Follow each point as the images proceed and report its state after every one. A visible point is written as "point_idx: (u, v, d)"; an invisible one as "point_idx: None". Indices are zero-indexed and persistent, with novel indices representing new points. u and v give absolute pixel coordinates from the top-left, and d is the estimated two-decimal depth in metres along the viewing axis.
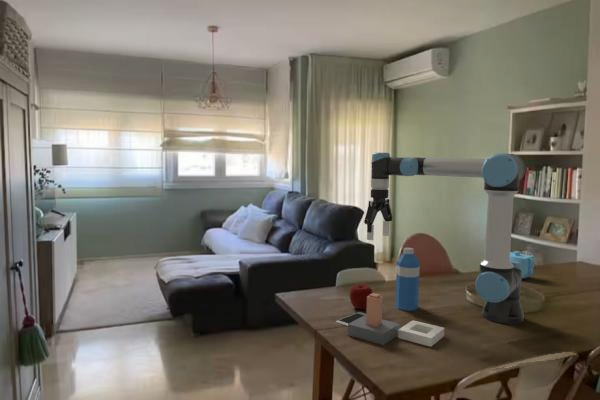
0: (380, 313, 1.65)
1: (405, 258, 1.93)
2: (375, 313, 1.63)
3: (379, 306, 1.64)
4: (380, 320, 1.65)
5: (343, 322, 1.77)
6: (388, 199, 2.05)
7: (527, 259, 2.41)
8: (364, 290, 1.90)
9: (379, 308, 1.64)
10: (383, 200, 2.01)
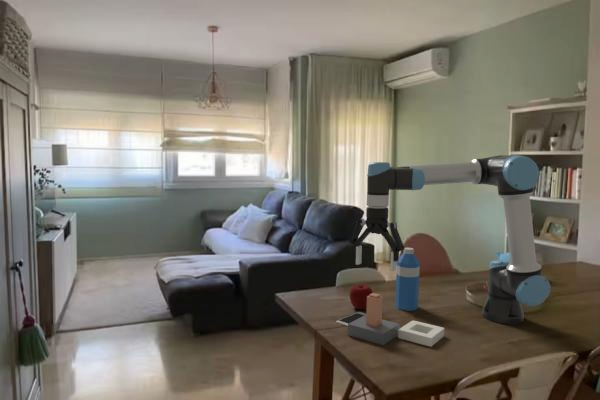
0: (380, 313, 1.65)
1: (405, 258, 1.93)
2: (375, 313, 1.63)
3: (379, 306, 1.64)
4: (380, 320, 1.65)
5: (343, 322, 1.77)
6: (391, 223, 1.58)
7: None
8: (364, 290, 1.90)
9: (378, 308, 1.64)
10: (379, 222, 1.61)
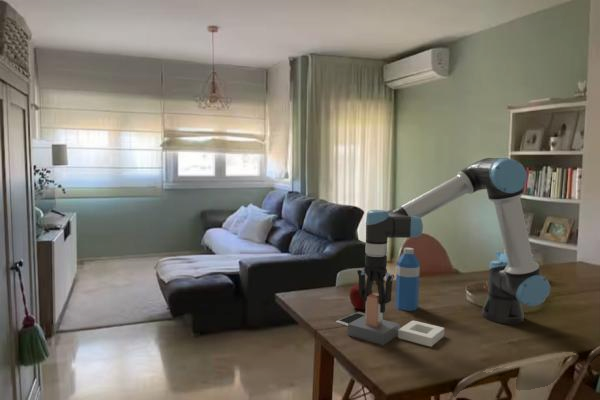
0: None
1: (405, 258, 1.93)
2: (375, 313, 1.63)
3: None
4: None
5: (343, 322, 1.77)
6: (389, 276, 1.60)
7: None
8: None
9: None
10: (379, 268, 1.62)
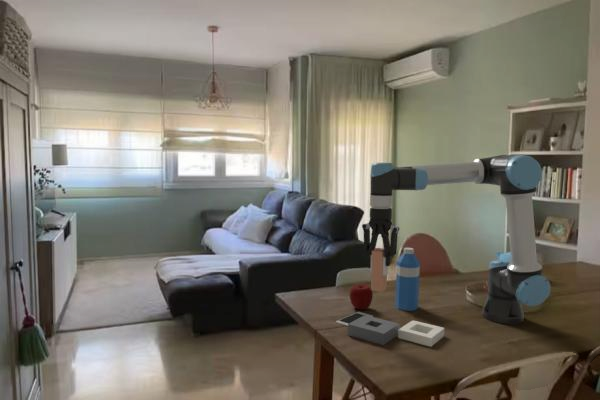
0: None
1: (405, 258, 1.93)
2: (380, 267, 1.61)
3: None
4: None
5: (343, 322, 1.77)
6: (394, 228, 1.58)
7: None
8: (364, 290, 1.90)
9: None
10: (384, 221, 1.60)
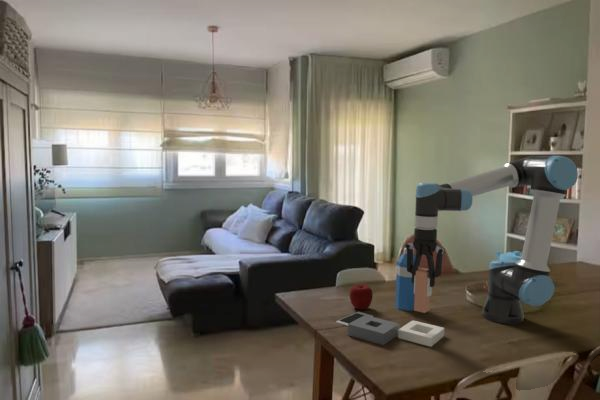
0: None
1: (405, 258, 1.93)
2: (424, 288, 1.61)
3: None
4: None
5: (344, 322, 1.77)
6: (440, 249, 1.57)
7: None
8: (364, 290, 1.90)
9: None
10: (429, 242, 1.59)
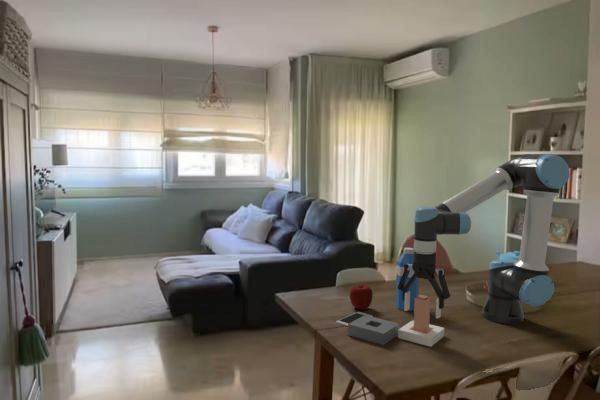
0: (428, 315, 1.64)
1: (405, 258, 1.93)
2: (423, 315, 1.62)
3: (427, 308, 1.63)
4: (428, 322, 1.64)
5: (344, 322, 1.77)
6: (439, 270, 1.58)
7: None
8: (364, 290, 1.90)
9: (427, 310, 1.63)
10: (427, 267, 1.61)
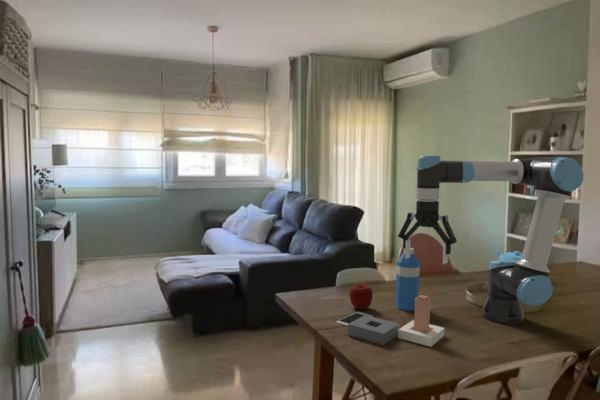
0: (428, 315, 1.64)
1: (405, 258, 1.93)
2: (424, 315, 1.62)
3: (427, 308, 1.63)
4: (428, 322, 1.64)
5: (344, 322, 1.77)
6: (443, 216, 1.58)
7: None
8: (364, 290, 1.90)
9: (427, 310, 1.62)
10: (430, 215, 1.61)
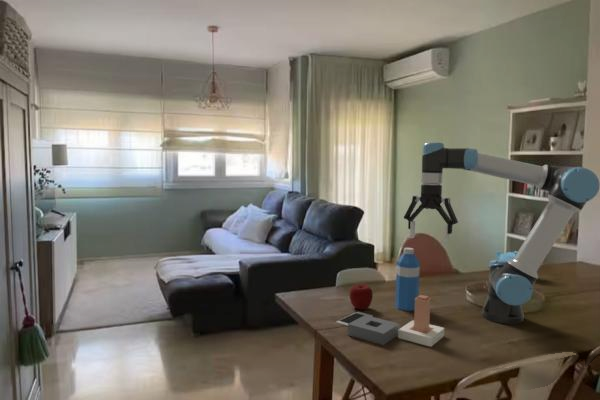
0: (428, 315, 1.64)
1: (405, 258, 1.93)
2: (424, 315, 1.62)
3: (427, 308, 1.63)
4: (428, 322, 1.64)
5: (344, 322, 1.77)
6: (445, 198, 1.71)
7: None
8: (364, 290, 1.90)
9: (427, 310, 1.62)
10: (434, 198, 1.74)
